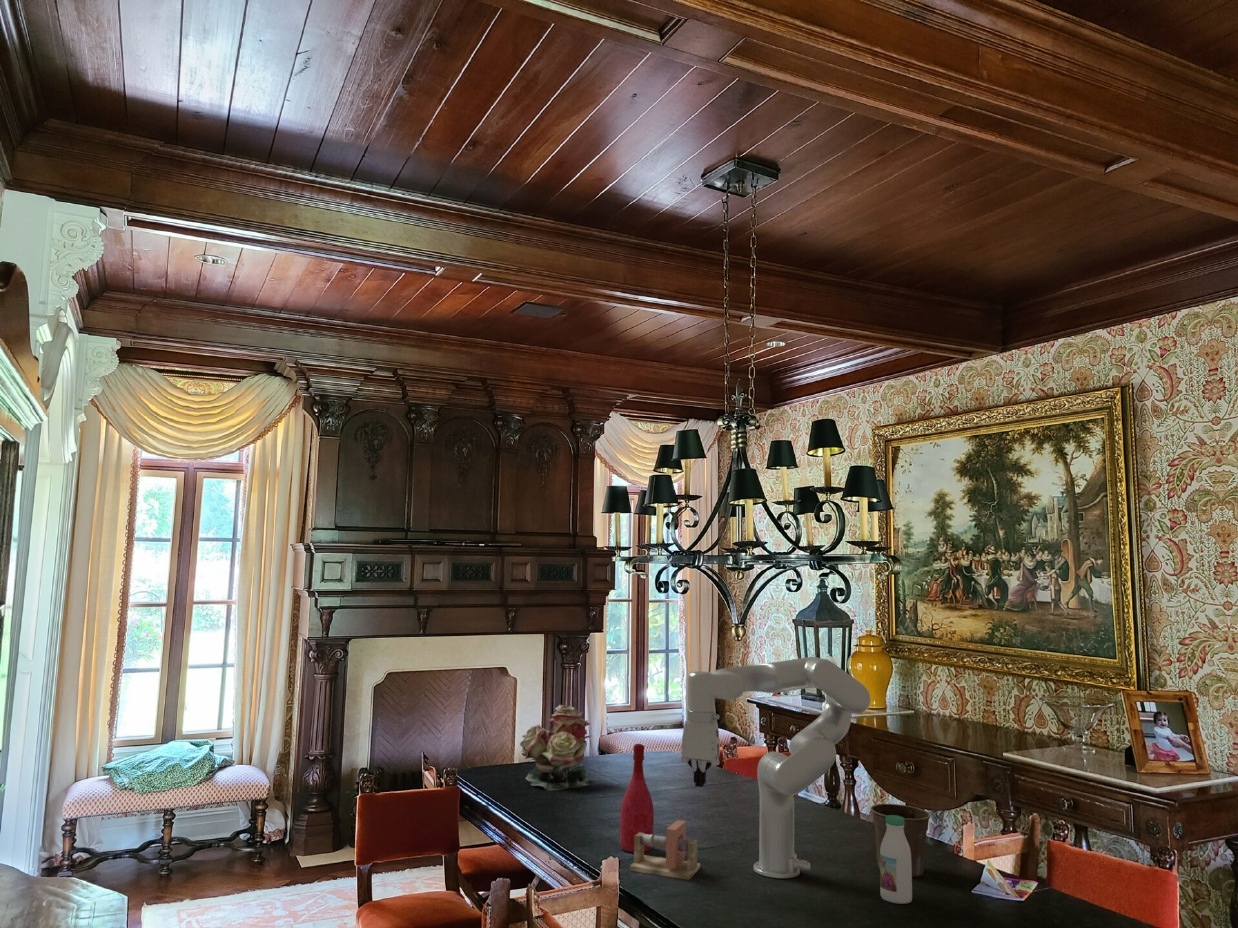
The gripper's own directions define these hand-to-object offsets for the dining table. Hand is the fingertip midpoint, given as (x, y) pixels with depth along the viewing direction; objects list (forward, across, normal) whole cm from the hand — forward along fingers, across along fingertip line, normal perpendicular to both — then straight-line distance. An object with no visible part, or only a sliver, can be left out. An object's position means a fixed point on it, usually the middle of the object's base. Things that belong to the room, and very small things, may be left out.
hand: (699, 785), depth 236 cm
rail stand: (+23, +9, 0) cm, 25 cm away
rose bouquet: (+23, +80, -81) cm, 117 cm away
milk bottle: (+23, -51, -4) cm, 56 cm away
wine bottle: (+23, +23, -14) cm, 36 cm away
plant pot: (+23, -51, -29) cm, 63 cm away
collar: (+21, +6, 0) cm, 22 cm away
